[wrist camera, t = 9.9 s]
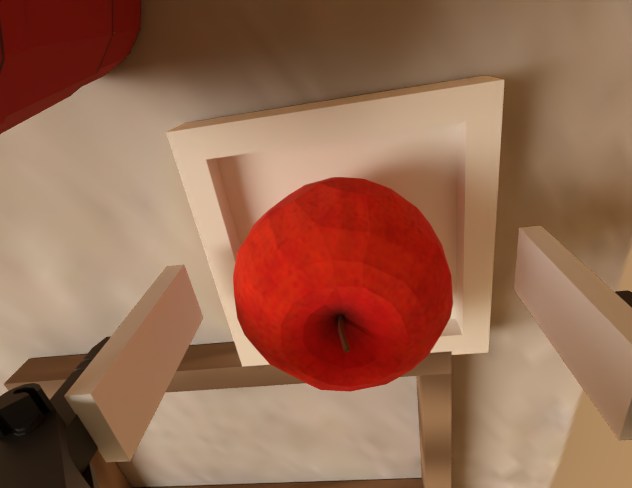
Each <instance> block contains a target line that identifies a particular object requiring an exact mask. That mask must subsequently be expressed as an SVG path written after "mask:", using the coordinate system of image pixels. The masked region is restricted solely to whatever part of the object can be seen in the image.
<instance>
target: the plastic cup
mask: <svg viewBox="0 0 632 488" xmlns="http://www.w3.org/2000/svg"><path fill="white" fill-rule="evenodd" d="M140 23H141V0H0V134H1V133H3V132H5V131H6V130H8V129H10V128H12V127H14V126H16V125H17V124H19V123H21V122H23V121H25V120H27V119H29V118H30V117H32V116H34V115H36V114H38V113H40V112H42V111H43V110H45V109H47V108H49V107H51V106H53V105H54V104H56V103H58V102H60V101H62V100H64V99H66V98H67V97H69V96H71V95H72V94H73V93H74V92H76V91H77V90H78V89H79V88H80V87H82V86H84V85H86V84H88V83H90V82H92V81H94V80H96V79H98V78H100V77H102V76H104V75H106V74H107V73H108V72H109V71H111V70H112V69H113V68H114V67H115V66H117V65H118V64H119V63H120V62H122V61H123V60H124V59H125V58H126V56H127V55H128V54H129V53H130V51H131V49H132V46H133V44H134V42H135V39H136V37H137V35H138V33H139V30H140Z"/></svg>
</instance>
